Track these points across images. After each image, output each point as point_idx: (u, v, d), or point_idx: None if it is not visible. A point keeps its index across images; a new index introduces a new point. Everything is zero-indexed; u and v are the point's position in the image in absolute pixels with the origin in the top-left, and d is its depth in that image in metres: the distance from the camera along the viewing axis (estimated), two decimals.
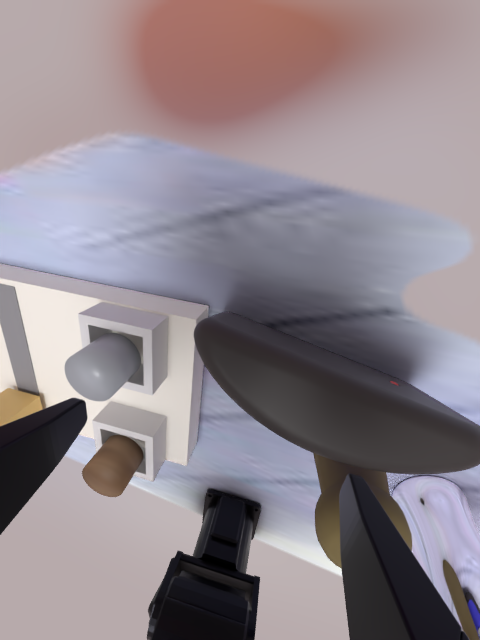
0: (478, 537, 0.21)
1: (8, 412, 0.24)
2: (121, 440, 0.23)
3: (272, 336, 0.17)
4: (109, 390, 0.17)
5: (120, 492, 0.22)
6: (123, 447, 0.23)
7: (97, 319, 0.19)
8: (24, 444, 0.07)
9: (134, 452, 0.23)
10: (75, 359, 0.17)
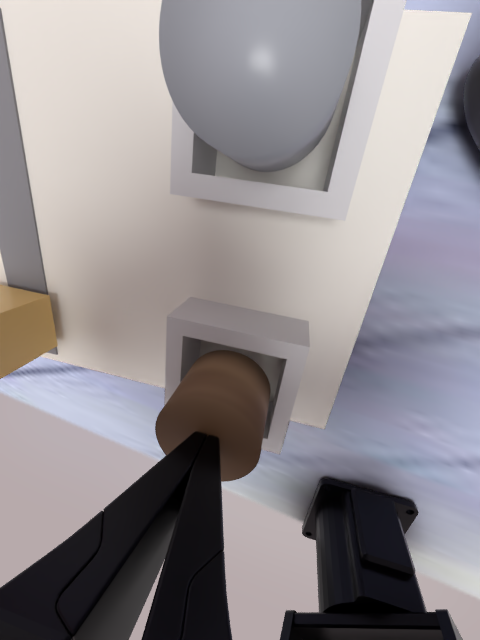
0: None
1: None
2: (233, 358, 0.10)
3: None
4: (320, 86, 0.05)
5: (247, 469, 0.09)
6: (242, 370, 0.10)
7: None
8: (177, 491, 0.07)
9: (262, 384, 0.10)
10: None
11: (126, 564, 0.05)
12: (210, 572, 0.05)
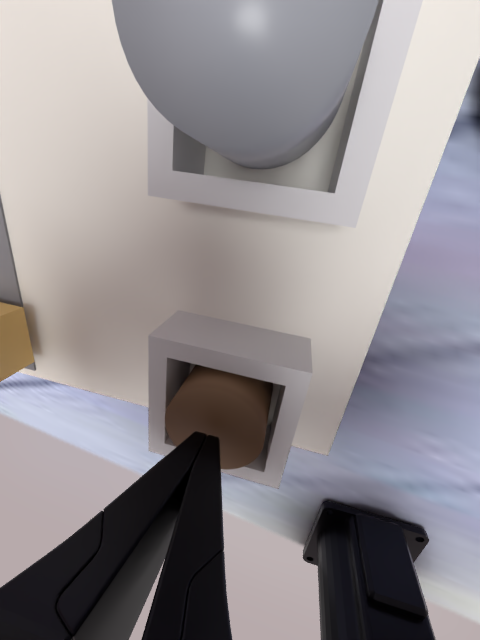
0: None
1: None
2: None
3: None
4: (330, 47, 0.04)
5: (251, 457, 0.10)
6: None
7: None
8: (177, 492, 0.07)
9: None
10: None
11: (126, 564, 0.05)
12: (210, 572, 0.05)
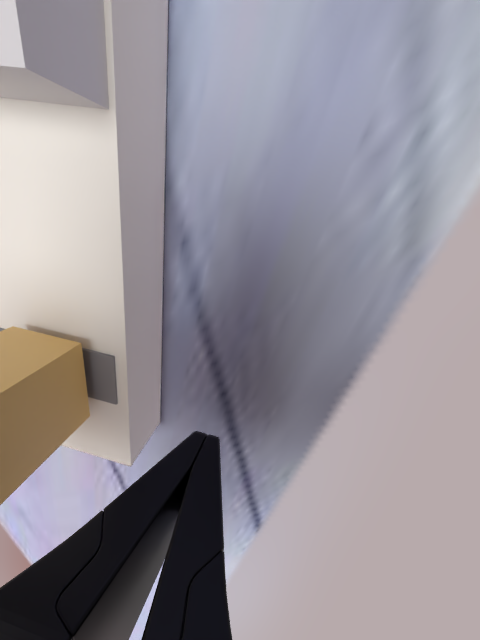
0: None
1: None
2: None
3: None
4: None
5: None
6: None
7: None
8: (177, 491, 0.07)
9: None
10: None
11: (126, 564, 0.05)
12: (210, 572, 0.05)
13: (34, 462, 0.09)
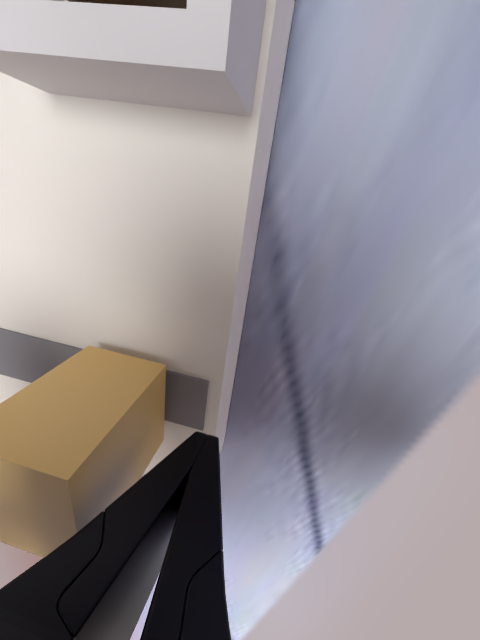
0: None
1: None
2: None
3: None
4: None
5: None
6: None
7: None
8: (178, 491, 0.07)
9: None
10: None
11: (127, 564, 0.05)
12: (209, 572, 0.05)
13: None
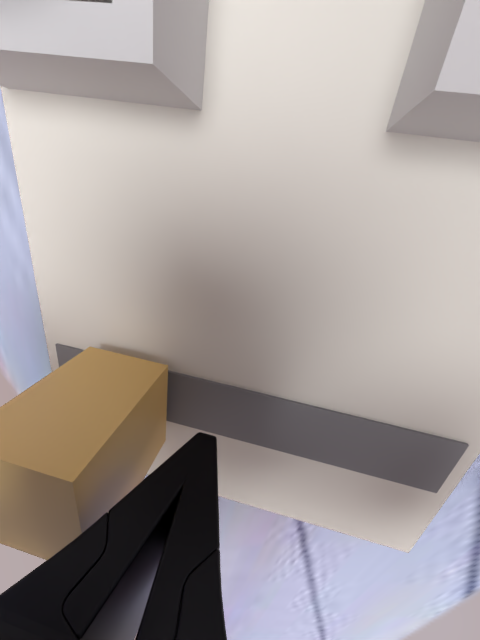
0: None
1: None
2: None
3: None
4: None
5: None
6: None
7: None
8: (181, 492, 0.07)
9: None
10: None
11: (132, 566, 0.05)
12: (205, 570, 0.05)
13: None
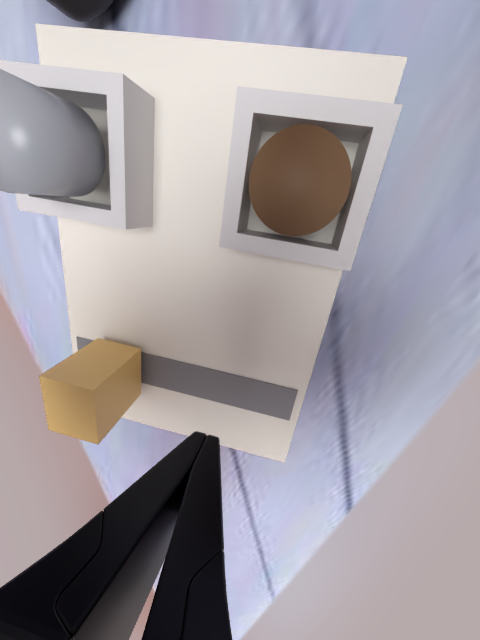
0: None
1: None
2: None
3: None
4: (5, 85, 0.08)
5: (329, 137, 0.09)
6: None
7: None
8: (177, 491, 0.07)
9: None
10: None
11: (126, 564, 0.05)
12: (210, 572, 0.05)
13: (117, 416, 0.16)
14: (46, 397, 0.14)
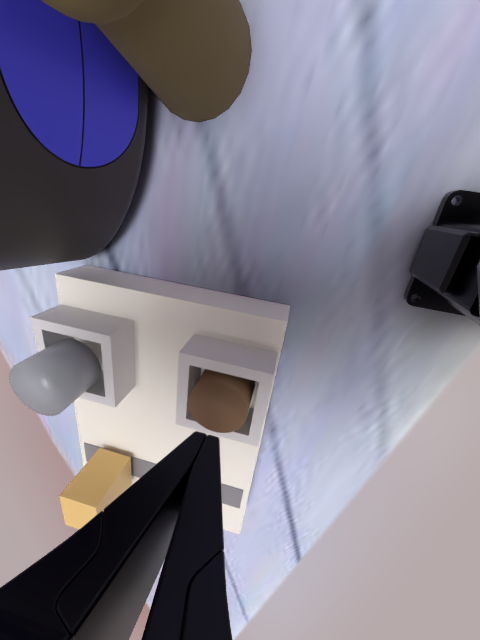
0: None
1: None
2: None
3: None
4: (42, 373, 0.15)
5: (231, 391, 0.15)
6: None
7: None
8: (177, 491, 0.07)
9: None
10: (21, 396, 0.16)
11: (126, 564, 0.05)
12: (210, 572, 0.05)
13: None
14: (64, 507, 0.21)
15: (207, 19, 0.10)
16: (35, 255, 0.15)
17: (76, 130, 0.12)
